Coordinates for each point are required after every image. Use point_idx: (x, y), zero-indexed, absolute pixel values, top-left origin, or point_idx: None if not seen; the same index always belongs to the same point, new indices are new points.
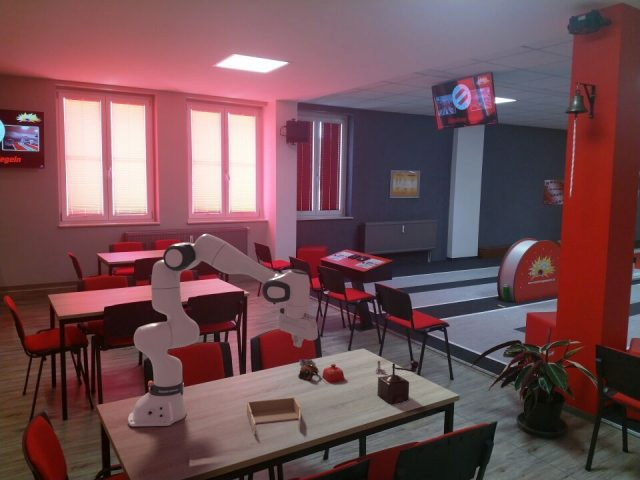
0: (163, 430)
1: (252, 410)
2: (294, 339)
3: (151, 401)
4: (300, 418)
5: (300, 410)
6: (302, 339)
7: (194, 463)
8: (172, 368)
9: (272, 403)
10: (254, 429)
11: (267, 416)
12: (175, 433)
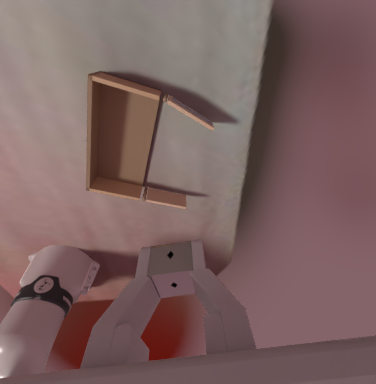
0: (115, 270)
1: (96, 172)
2: (149, 315)
3: (73, 302)
4: (199, 116)
5: (166, 97)
6: (238, 307)
7: (209, 261)
8: (46, 346)
9: (93, 136)
10: (185, 201)
11: (126, 152)
12: (129, 263)
